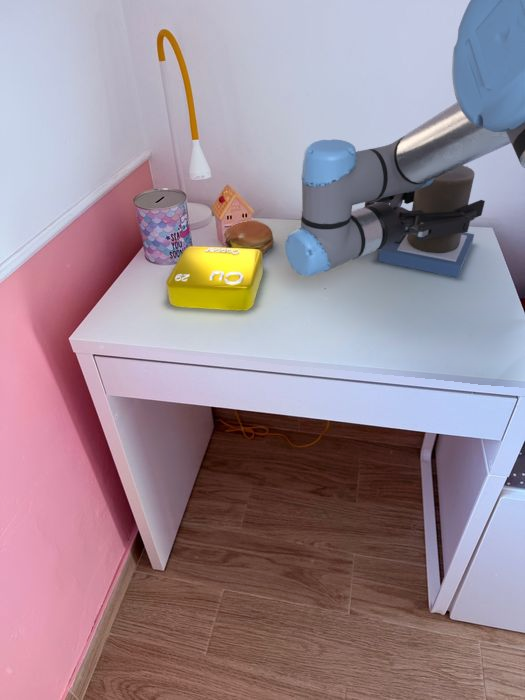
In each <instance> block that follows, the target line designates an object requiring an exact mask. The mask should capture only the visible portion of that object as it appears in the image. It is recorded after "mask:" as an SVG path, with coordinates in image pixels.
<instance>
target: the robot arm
mask: <svg viewBox="0 0 525 700" xmlns="http://www.w3.org/2000/svg"><path fill="white" fill-rule="evenodd" d="M460 20H461V21H460V22H459V26H458V29H457V38H456V43H455V45H454V47H453V52H452V61H451V63H452V64H451V78H452V79H451V80H452V86H453V93H454V96H455V99H456V102H455V103H454V104H452V105H450V106H449V107H447V108H445V109H444V110H443V111H441V112H439V113H438V114H436V115H435V116H432V117H431V118H430V119H428V120H427V121H425V122H423V123H421V124H420V125H418V126H417V127H415V128H414V129H412V130H411V131H409V132H407V133H406V134H405V135H403V136H401V137H400V138H398V139H397V140H395V141H393V142H392V143H390V144H386V145H384V146H383V145H382V146H377V147H373V148H368V149H363V150H356V146H354V145H353V143H351V142H349V141H346V140H343V139H320V140H317V141H314V142H311V143H310V144H309V145H308V146H307V147H306V148H305V150H304V153H303V159H302V167H301V196H302V197H301V198H302V199H301V203H302V209H301V210H302V212H301V217H300V227H299V228H296V229H295V230H293V231H291V232H290V233H289V234H288V235H287V238H286V240H285V243H284V251H285V256H286V258H287V261H288V263H289V265H290V267H291V268H292V269H293V270H294V272H295V273H297V274H299V275H300V276H303V277H311V276H314V275H318V274H320V273H326V272H329V271H330V270H332V269H334V268H336V267H339V266H340V265H343V264H345V263H347V262H349V261H354V260H356V259H358V258H360V257H363V256H365V255H368V254H371V253H373V252H375V251H380V249H382V248H384V247H387V246H389V245H391V244H393V243H394V242H395V241H396V240H397V239H398V238H399V237H400V236H401V235H404V234H410V233H413V234H415V235H417V237H416V240H417V241H423V240H426V239H428V238H433V237H439V236H446V235H452V234H459V233H469V227H470V224H471V222H472V221H474V220H475V219H476V218H479V217H481V216H482V215H483V212H484V211H483V210H484V207H485V202H486V200H483V199H480V200H477V201H474V202H472V203H468V205H466V206H464V207H461V208H459V209H457V212H440V213H424V212H423V211H422V210H418V211H412V210H408V209H407V208H405V207H403V206H402V205H403V204H405V205H409V204H411V203H413V200H414V194H415V191H416V190H419V189H421V188H424V187H426V186H428V185H430V184H431V183H432V182H433V180H434V179H435V178H436V177H438V176H440V175H442V174H445V173H447V172H449V171H451V170H453V169H455V168H458V167H460V166H462V165H464V166H465V165H467V164H469V163H471V162H473V161H475V160H477V159H480V158H481V157H484V156H486V155H489V154H490V153H493V152H495V151H497V150H499V149H502V148H504V147H506V146H508V145H510V144H511V146H512V148H513V150H514V152H515V155H516V157H517V159H518V162H519V163H520V165H521V167H522V168H524V169H525V0H469V2H468V4H467V6H466V8H465V11H464V13H463V15H462V18H461V19H460ZM359 204H364V206H363V207H359V208H357V209H354V210H353V206H354V205H359ZM416 216H418V222H417V226H415V221H416Z"/></svg>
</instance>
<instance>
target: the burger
mask: <svg viewBox="0 0 525 700" xmlns="http://www.w3.org/2000/svg"><path fill="white" fill-rule="evenodd" d="M237 223H238V222H237ZM234 224H235V223H234ZM232 225H233V224H232ZM230 226H231V225H230ZM230 226H229V227H228V228H226V229H225V231H224V234H223V236H224V238H225V241H224V244H226V245H227V246H226V248H246V249H257V250H260V251H261V252H262V255H264V254H266V253H267V251H268V250H270V249H271V248H272V247H273V245H274V242H275V241H274V235H273V231H272V229H271V228H270V227H269V225H267V224H265V223H263V222H261V221H258V220H251V221H247V222H242V223H238V224H235V225H233V226H231V227H230Z"/></svg>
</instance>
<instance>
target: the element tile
mask: <svg viewBox="0 0 525 700" xmlns="http://www.w3.org/2000/svg"><path fill="white" fill-rule="evenodd" d="M263 257H264V256H263V254H262V252H261V251H260V250H257V249H246V248H227V247H222V246H220V247H219V246H202V245H201V246H199V245H196V246H195V245H193V246H192V245H191V246H188V247H186V248H185V249H184V250H183V251H182V253H181V255H180V257H179V258H178V260H177V262H176V263H175V266H174V267H173V269H172V271H171V272H170V274H169V276H168V278H167V279H166V283H165V284H166V289H167V296H168V301H169V303H170V305H172V306H173V307H177V308H190V309H202V310H203V309H206V310H221V311H236V312H240V311H247V310H251V308H252V307H253V306H254V304H255V301H256V297H257V295H258V291H259V288H260V284H261V281H262V278H263V274H264V261H263Z"/></svg>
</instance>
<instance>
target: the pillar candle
mask: <svg viewBox="0 0 525 700" xmlns="http://www.w3.org/2000/svg"><path fill="white" fill-rule="evenodd" d="M474 179H475V171H474V170H473V168H470V167H469V166H468V165H467V166H466V165H465V164H464V165H462V166H460V167H458V168H455V169H453V170H451V171H449V172H447V173H445V174H442V175H440V176H438V177H436V178H435V179H434V180H433V182H432V183H431V184H430V185H428V186H426V187H424V188H421V189H419V190H416V191H415V194H414V200H413V202H412V206H411V211H418V210H422V211H423V212H424V213H440V212H457V209H459V208H461V207H464V206H466V205H469V204H470V203H469V202H470V197H471V193H472V189H473V183H474ZM417 222H418V216H416V221H415V226H417ZM461 234H462V233H459V234H452V235H446V236H439V237H433V238H428V239H426V240H423V241H417V240H416V237H417V235H415V234H413V233H410V234H408V237H407V239H408V242H409V243H410V245H411V246H412V247H414V248H416V249H418V250H421V251H424V252H432V253H447V252H451V251H453V250H455V249H457V248H458V246H459V244H460V239H461Z"/></svg>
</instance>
